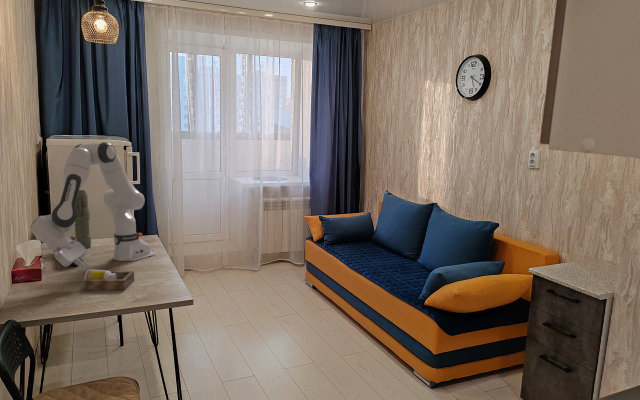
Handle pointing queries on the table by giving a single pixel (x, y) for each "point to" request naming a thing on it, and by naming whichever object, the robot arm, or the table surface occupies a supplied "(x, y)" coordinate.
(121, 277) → the wooden tray
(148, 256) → the robot arm
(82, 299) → the table surface
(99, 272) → the supplement bottle
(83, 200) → the thermos
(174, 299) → the table surface
